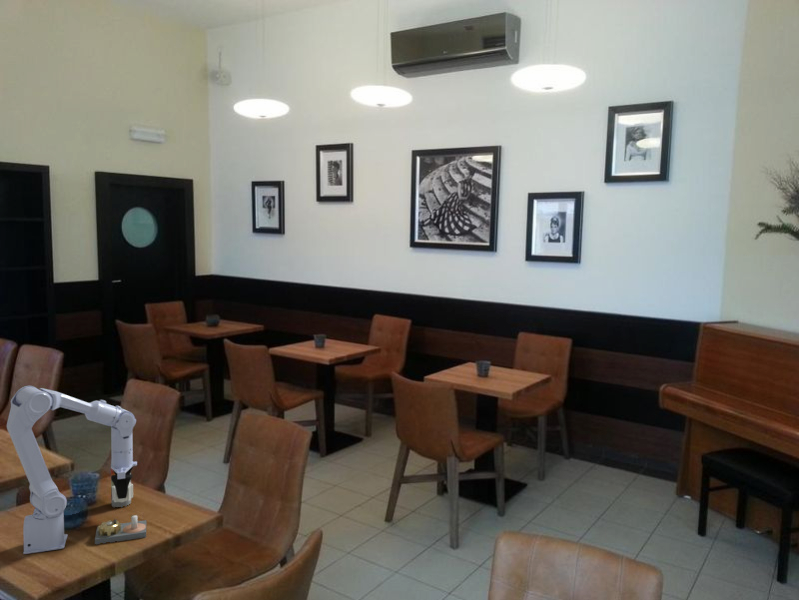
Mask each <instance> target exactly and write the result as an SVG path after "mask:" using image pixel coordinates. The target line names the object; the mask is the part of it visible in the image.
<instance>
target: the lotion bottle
mask: <svg viewBox="0 0 799 600" xmlns="http://www.w3.org/2000/svg"><path fill="white" fill-rule="evenodd" d="M111 464H112V458H111V459H110V465H111ZM131 474H132V472H131V473H130V475H131ZM111 475H115V473H114V471H113V469H111V468H110V476H111ZM130 482H131V483H132V479H131V480H130ZM110 485H111V486H110V489H111V491H110V493H111V494H110V495H111V496H110V499H111V503H110V504H111V506H112V508H115V507H121V508H124V507H123V506H125V507H128V506H130V505H131V503H132V499H131V500H130V501H128V500H127V501H124V502H114V500H112V486H114V483H113V482H112V480H111V479H110ZM129 504H130V505H129ZM127 505H128V506H127Z"/></svg>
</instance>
